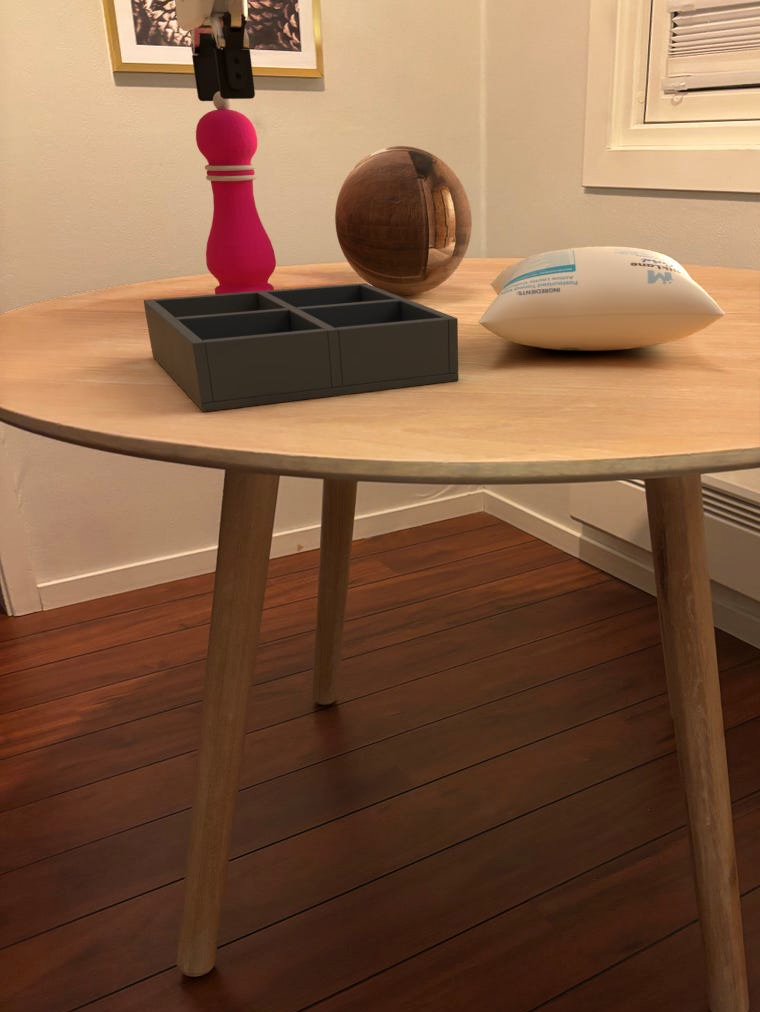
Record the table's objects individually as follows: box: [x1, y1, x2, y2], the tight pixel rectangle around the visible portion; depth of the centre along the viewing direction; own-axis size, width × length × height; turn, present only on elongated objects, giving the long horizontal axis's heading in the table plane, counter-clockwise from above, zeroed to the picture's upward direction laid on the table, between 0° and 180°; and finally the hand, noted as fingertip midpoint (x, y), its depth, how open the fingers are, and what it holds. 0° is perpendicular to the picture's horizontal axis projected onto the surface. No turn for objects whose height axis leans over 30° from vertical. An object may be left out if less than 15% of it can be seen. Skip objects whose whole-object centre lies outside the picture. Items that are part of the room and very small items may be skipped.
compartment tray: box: [143, 282, 460, 413], centre depth 75 cm, size 19×19×5 cm
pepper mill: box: [195, 91, 277, 294], centre depth 98 cm, size 7×7×20 cm
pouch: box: [477, 246, 726, 352], centre depth 82 cm, size 8×19×20 cm
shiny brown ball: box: [334, 145, 473, 296], centre depth 104 cm, size 15×15×15 cm
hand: (225, 99), depth 93 cm, fingers open, 9 cm apart
